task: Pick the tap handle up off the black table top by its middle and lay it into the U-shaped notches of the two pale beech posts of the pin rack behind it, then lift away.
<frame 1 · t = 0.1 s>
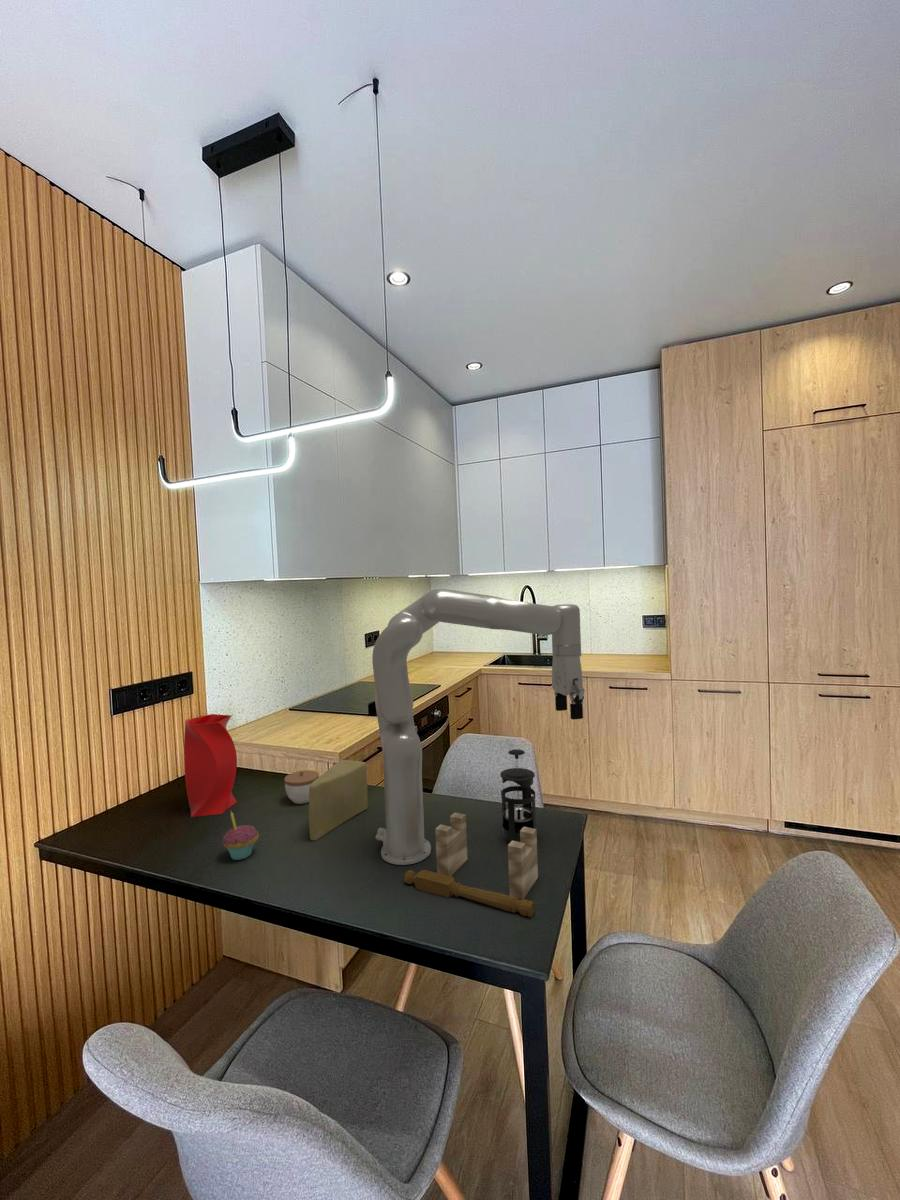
hand: (568, 714, 135), 31 cm above the table, tool pointing down, fingers open, 9 cm apart
lidded jar: (302, 800, 163), on the table
cheese: (335, 823, 146), on the table
cupcake: (241, 855, 130), on the table
pin rack: (487, 876, 116), on the table
french press: (520, 837, 133), on the table
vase: (209, 808, 160), on the table
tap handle: (465, 899, 108), on the table
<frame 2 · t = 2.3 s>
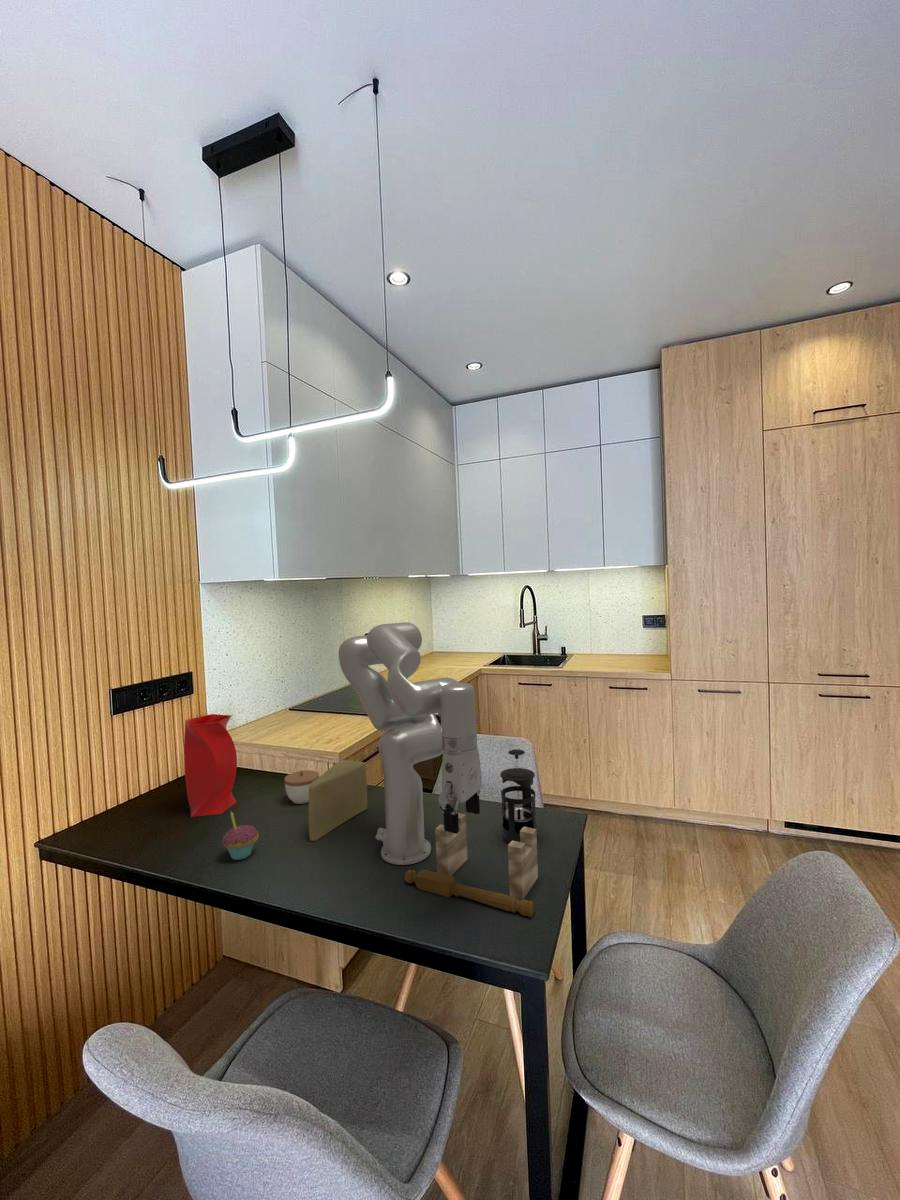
hand: (462, 821, 108), 16 cm above the table, tool pointing down, fingers open, 9 cm apart
nothing on the table moved.
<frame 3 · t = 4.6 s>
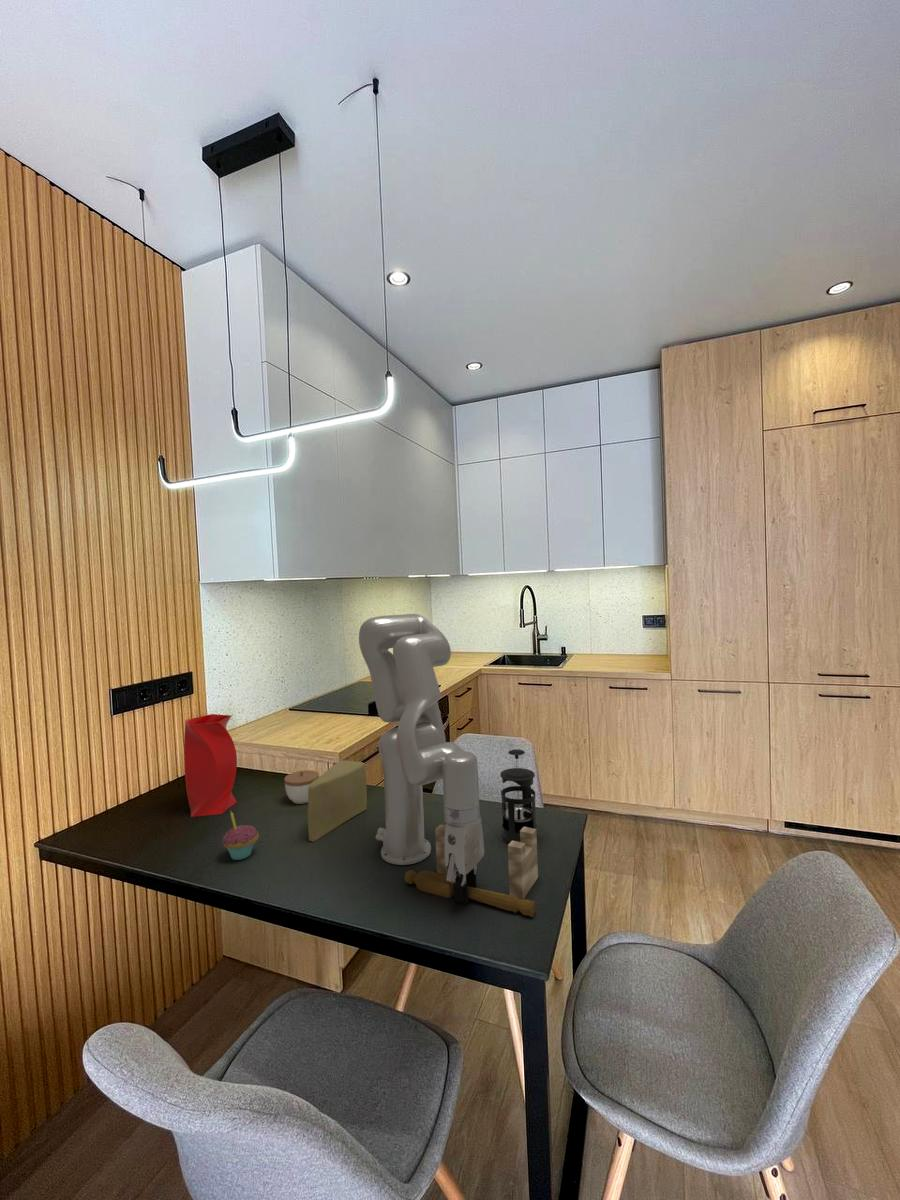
hand: (465, 895, 108), 0 cm above the table, tool pointing down, fingers closed on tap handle, 3 cm apart
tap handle: (466, 899, 108), on the table, touching gripper
everything else where it was.
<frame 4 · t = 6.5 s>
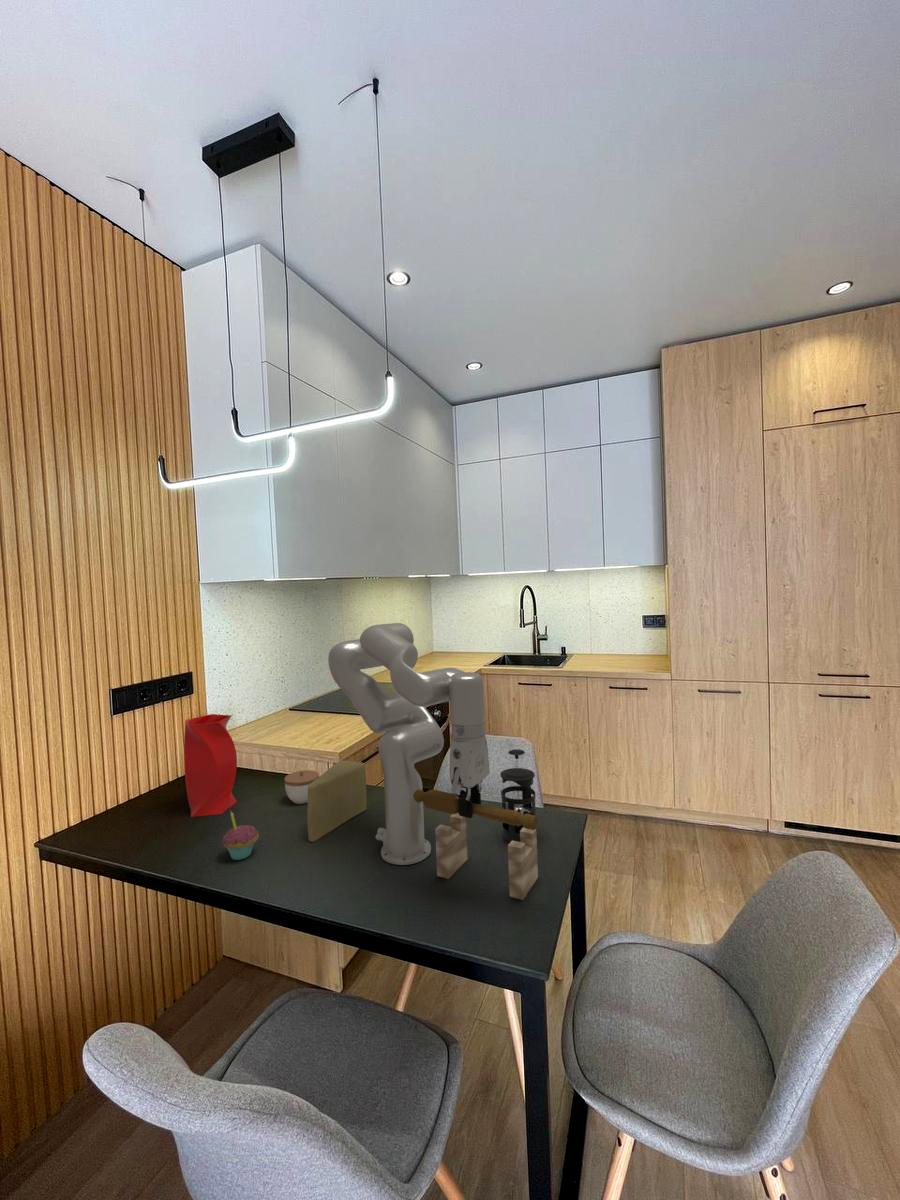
hand: (470, 812, 111), 17 cm above the table, tool pointing down, fingers closed on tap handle, 3 cm apart
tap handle: (471, 815, 111), point 16 cm above the table, touching gripper
everything else where it was.
when the fingers open (10 cm above the table, at t = 8.8 s): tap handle drops 2 cm, resting on pin rack.
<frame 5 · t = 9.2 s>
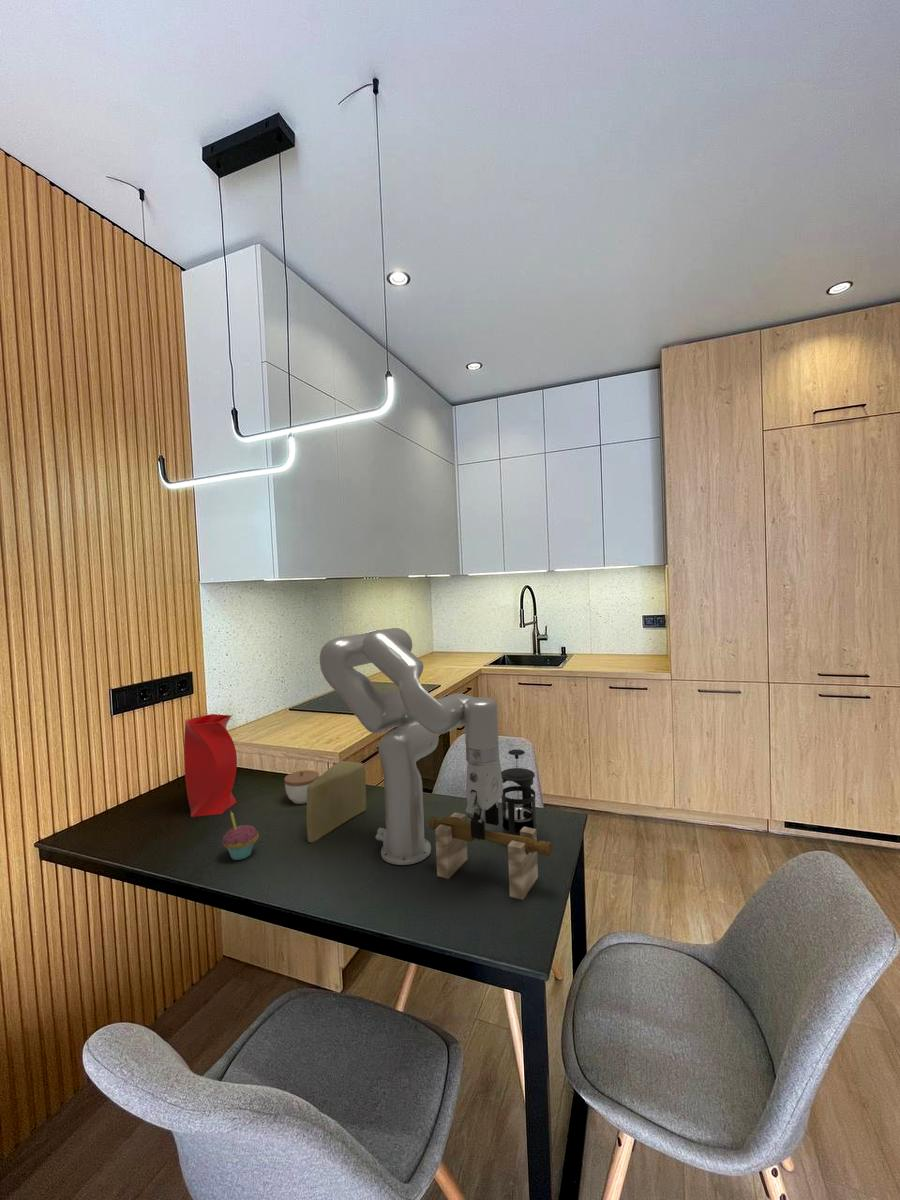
hand: (485, 830, 115), 11 cm above the table, tool pointing down, fingers open, 6 cm apart
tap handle: (486, 842, 116), point 8 cm above the table, touching pin rack
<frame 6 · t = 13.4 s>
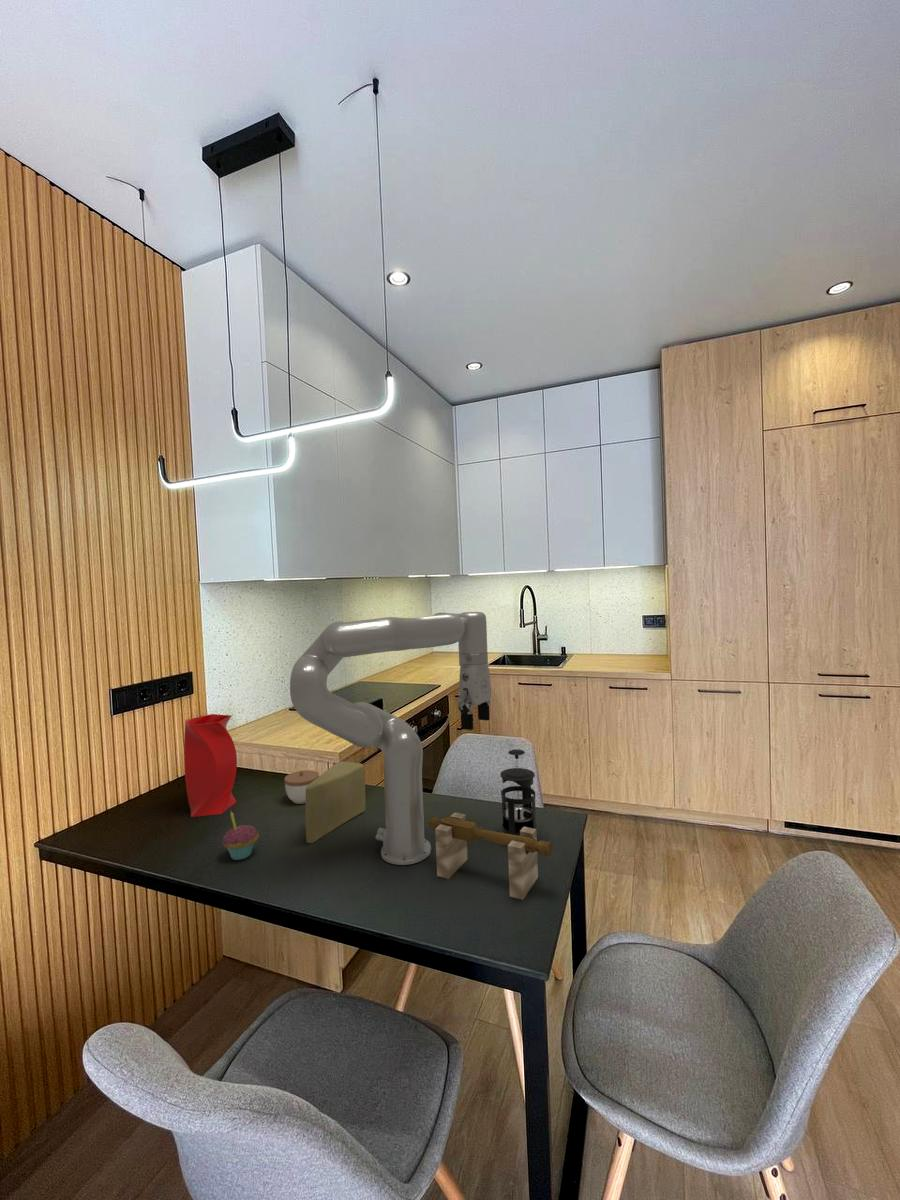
hand: (475, 724, 133), 30 cm above the table, tool pointing down, fingers open, 9 cm apart
at the end: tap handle inside the target area on the pin rack (0.1 cm from its centre), point 7.8 cm above the pin rack's base; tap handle touching pin rack; the gripper is holding nothing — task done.
